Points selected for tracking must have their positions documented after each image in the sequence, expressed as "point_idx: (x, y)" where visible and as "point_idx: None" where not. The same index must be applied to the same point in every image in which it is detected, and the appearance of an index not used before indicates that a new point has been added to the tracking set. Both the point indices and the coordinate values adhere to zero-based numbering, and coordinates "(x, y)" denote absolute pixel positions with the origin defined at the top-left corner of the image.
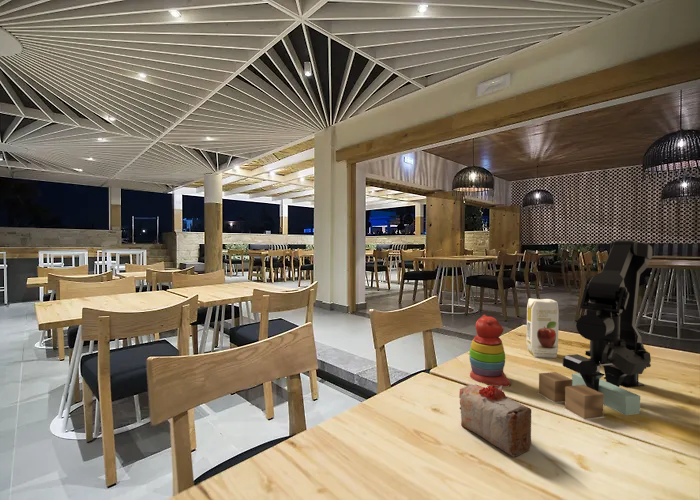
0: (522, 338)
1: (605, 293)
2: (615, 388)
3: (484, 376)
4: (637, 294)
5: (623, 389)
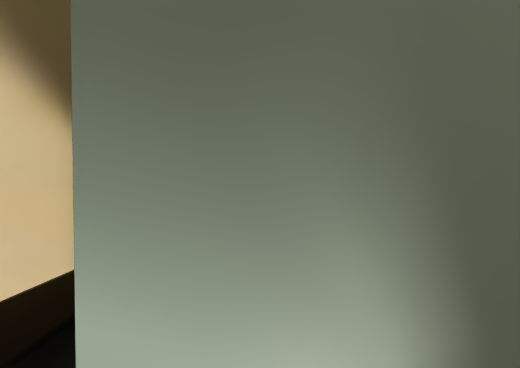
0: None
1: None
2: (232, 312)
3: None
4: None
5: (110, 196)
